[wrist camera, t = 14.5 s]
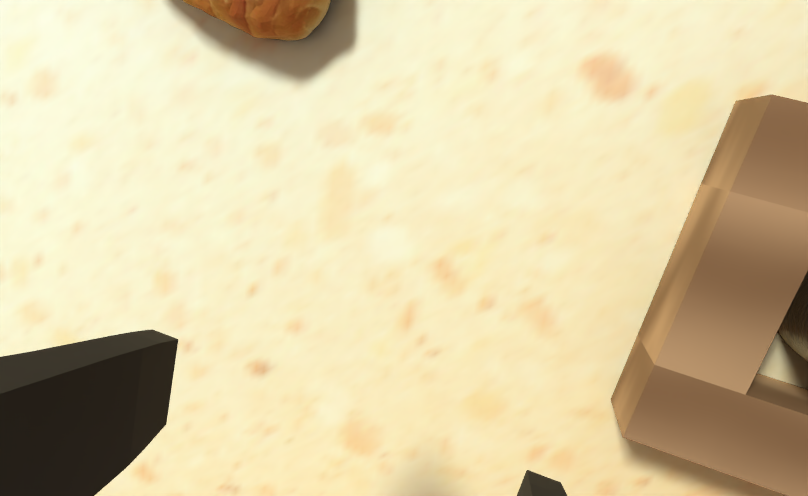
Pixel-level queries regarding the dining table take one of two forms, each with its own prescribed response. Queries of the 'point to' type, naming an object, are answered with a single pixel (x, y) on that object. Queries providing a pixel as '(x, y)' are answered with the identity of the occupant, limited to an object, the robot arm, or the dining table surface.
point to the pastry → (268, 16)
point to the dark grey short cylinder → (797, 321)
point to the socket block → (730, 311)
